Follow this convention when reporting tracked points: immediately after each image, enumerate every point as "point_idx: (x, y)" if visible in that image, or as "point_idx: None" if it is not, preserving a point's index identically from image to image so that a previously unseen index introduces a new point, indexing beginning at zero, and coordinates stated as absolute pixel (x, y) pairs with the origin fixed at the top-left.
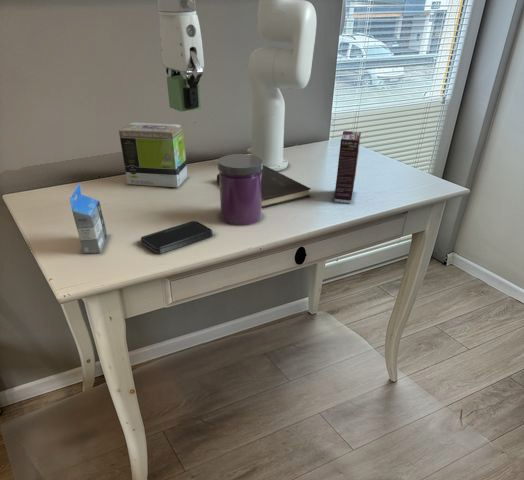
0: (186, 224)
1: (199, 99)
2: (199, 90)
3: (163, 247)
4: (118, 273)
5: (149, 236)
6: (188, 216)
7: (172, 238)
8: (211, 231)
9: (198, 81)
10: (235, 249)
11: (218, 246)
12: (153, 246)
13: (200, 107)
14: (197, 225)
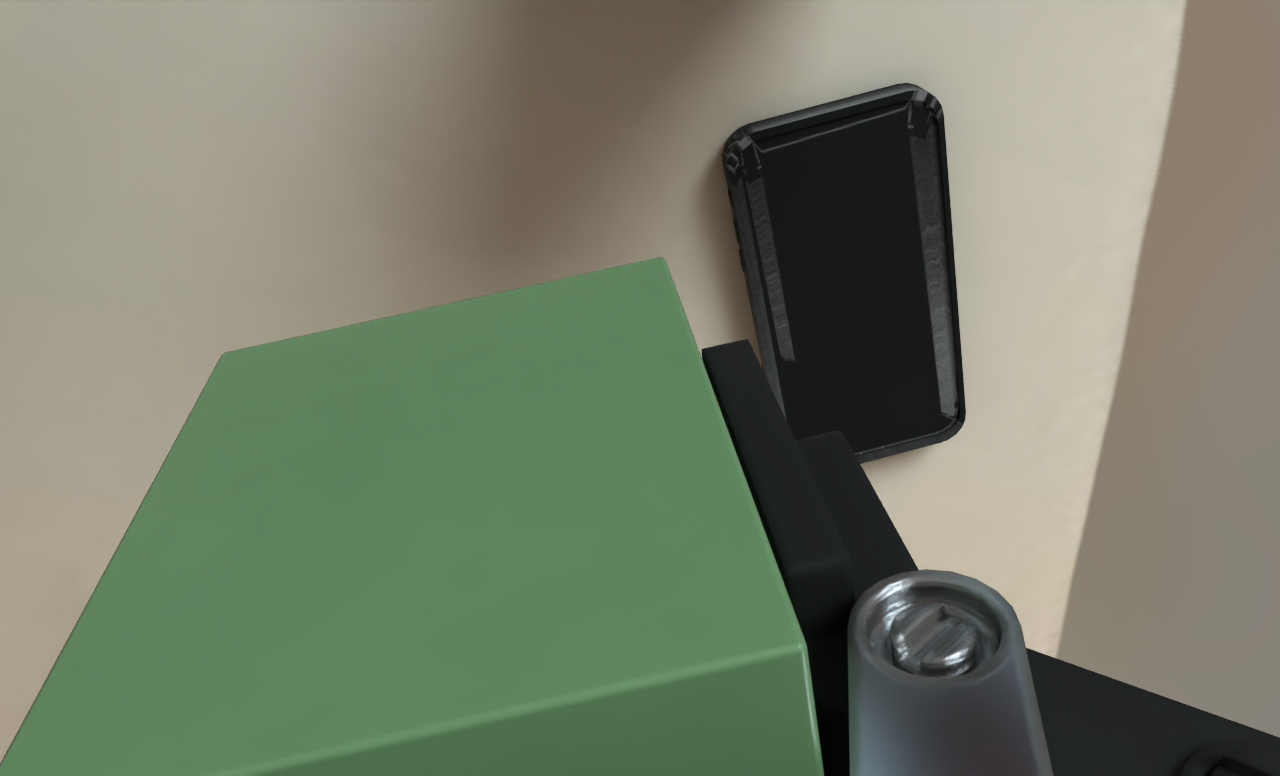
0: (750, 209)
1: (693, 343)
2: (725, 426)
3: (962, 403)
4: (1005, 581)
5: (797, 433)
6: (554, 125)
7: (883, 335)
8: (934, 100)
9: (1222, 731)
10: (1154, 23)
11: (1058, 104)
12: (924, 442)
13: (664, 264)
14: (797, 149)
